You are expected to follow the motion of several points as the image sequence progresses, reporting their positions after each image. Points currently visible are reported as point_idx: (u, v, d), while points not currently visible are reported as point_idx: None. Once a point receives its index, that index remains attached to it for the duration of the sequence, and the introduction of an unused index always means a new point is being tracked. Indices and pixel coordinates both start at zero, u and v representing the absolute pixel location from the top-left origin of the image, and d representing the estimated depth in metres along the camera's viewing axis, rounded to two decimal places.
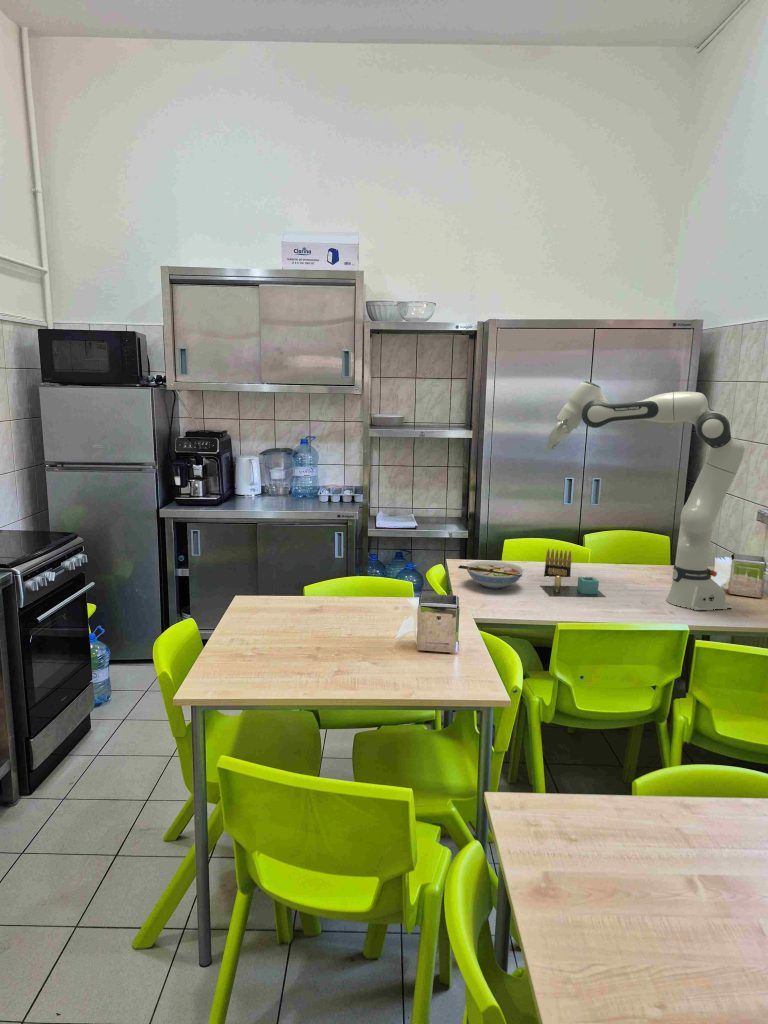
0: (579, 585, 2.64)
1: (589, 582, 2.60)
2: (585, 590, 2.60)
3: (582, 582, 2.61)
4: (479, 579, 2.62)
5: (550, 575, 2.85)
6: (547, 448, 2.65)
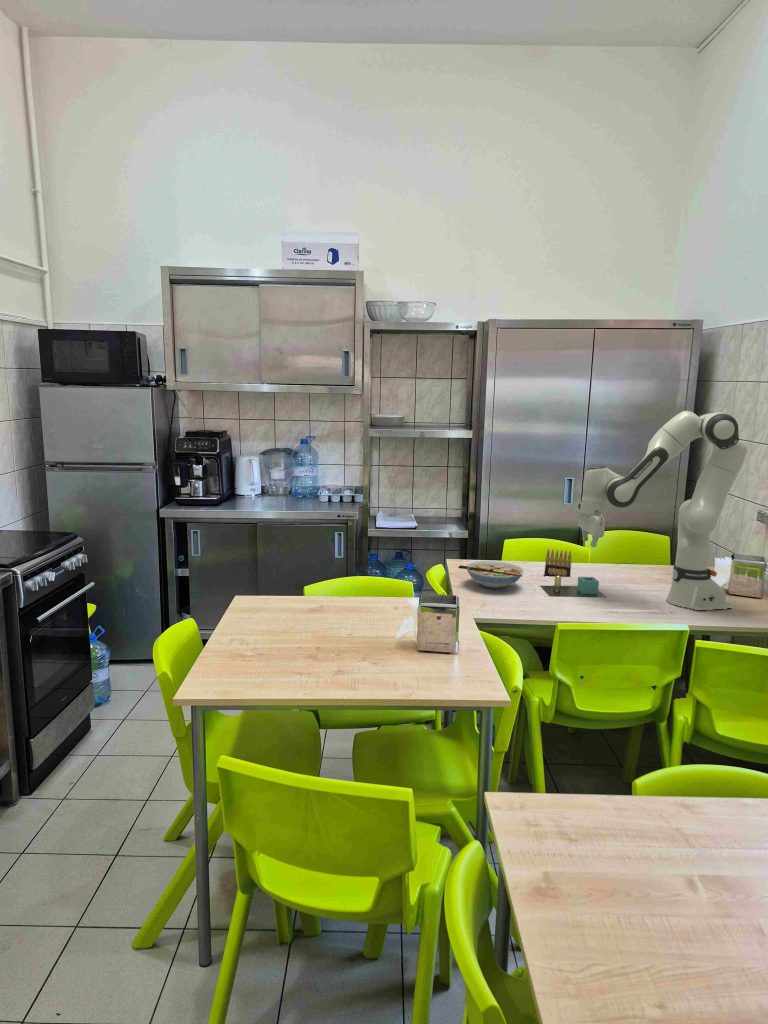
0: (579, 585, 2.64)
1: (589, 582, 2.60)
2: (585, 590, 2.60)
3: (582, 582, 2.61)
4: (479, 579, 2.62)
5: (550, 575, 2.85)
6: (594, 545, 2.55)
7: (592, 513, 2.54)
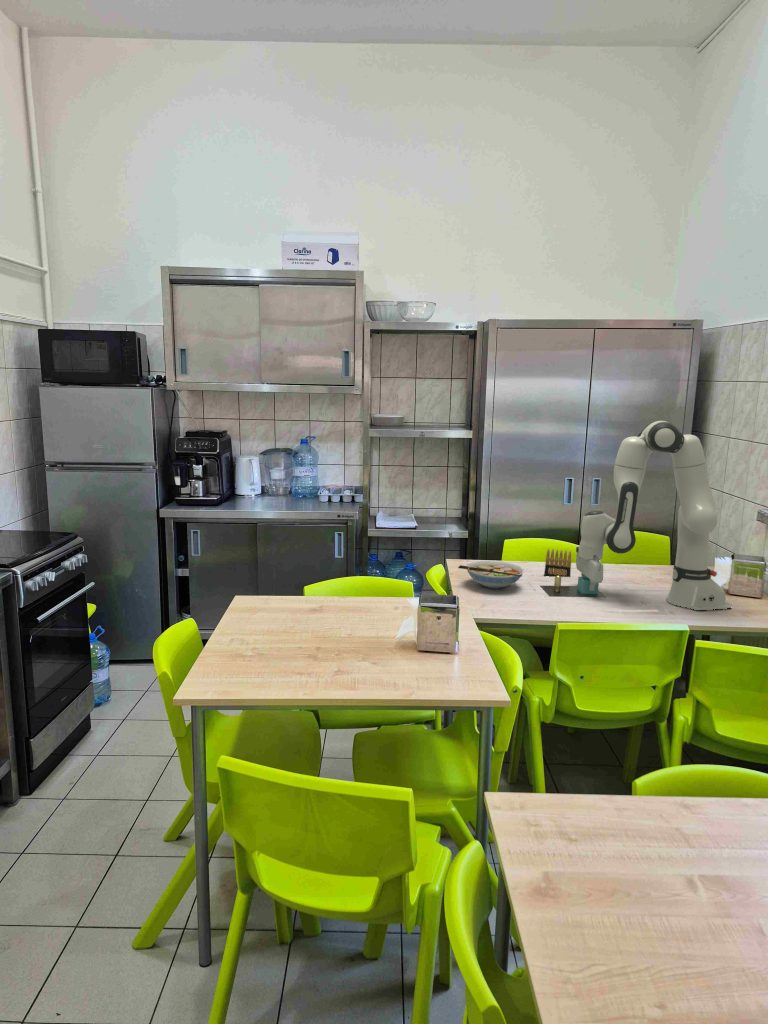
0: (579, 585, 2.64)
1: (589, 582, 2.60)
2: (585, 590, 2.60)
3: (582, 582, 2.61)
4: (479, 579, 2.62)
5: (550, 575, 2.85)
6: (592, 588, 2.59)
7: (590, 558, 2.57)
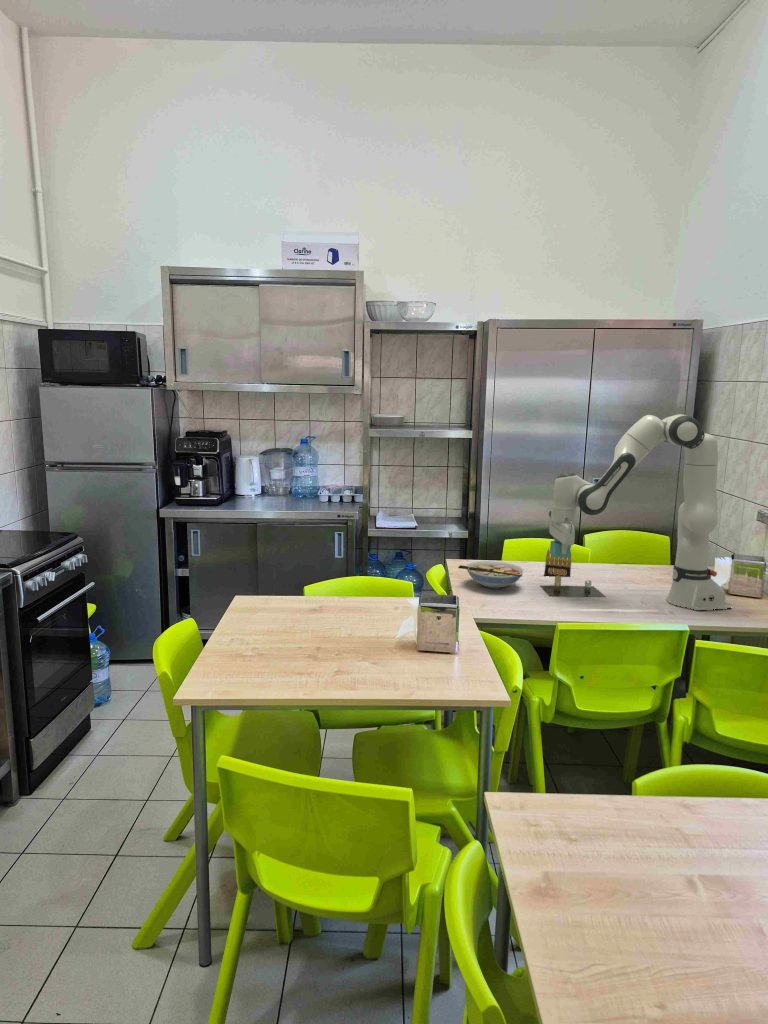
0: (551, 549, 2.61)
1: (561, 545, 2.56)
2: (556, 554, 2.57)
3: (554, 546, 2.57)
4: (479, 579, 2.62)
5: (550, 575, 2.85)
6: (563, 552, 2.55)
7: (562, 521, 2.53)
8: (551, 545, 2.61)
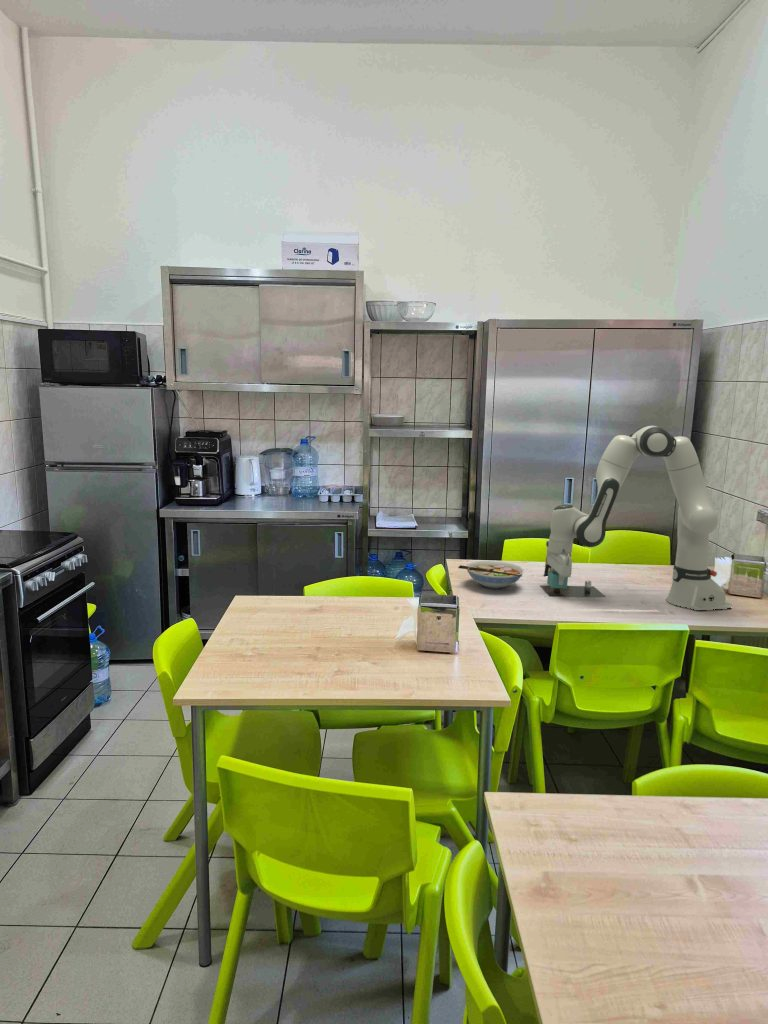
0: (549, 579, 2.63)
1: (558, 576, 2.59)
2: (554, 584, 2.59)
3: (551, 576, 2.60)
4: (479, 579, 2.62)
5: None
6: (561, 583, 2.58)
7: (559, 552, 2.56)
8: (548, 575, 2.63)
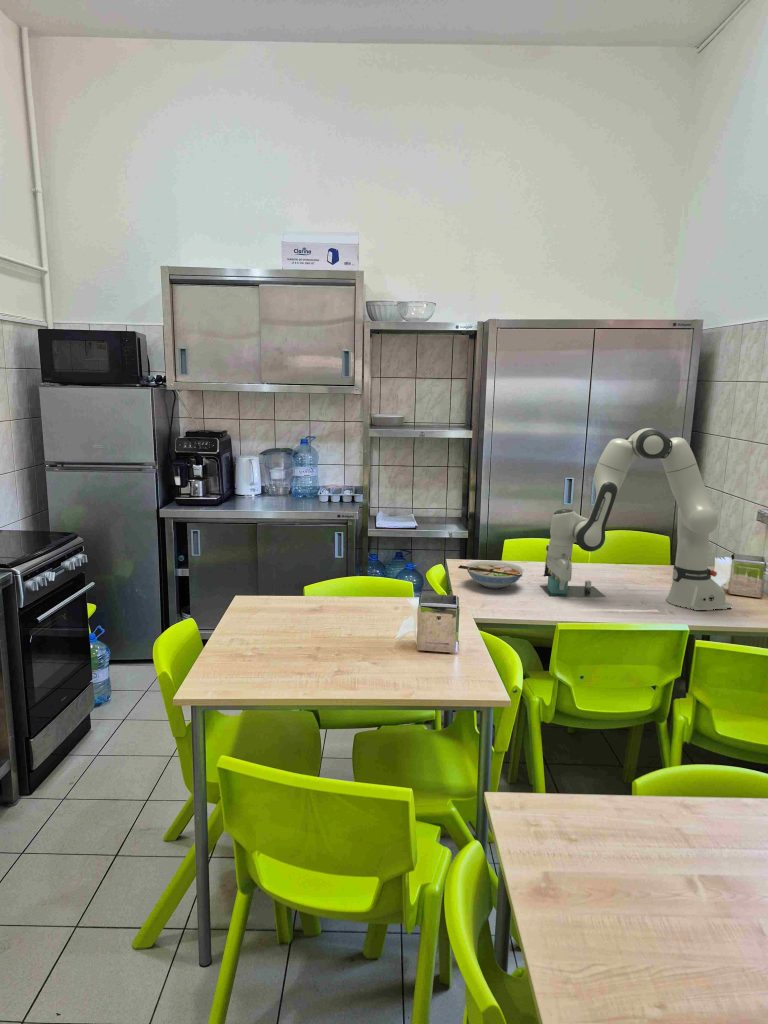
0: (549, 585, 2.63)
1: (558, 582, 2.59)
2: (554, 589, 2.60)
3: (551, 582, 2.60)
4: (479, 579, 2.62)
5: (550, 575, 2.85)
6: (561, 588, 2.57)
7: (559, 556, 2.56)
8: (548, 581, 2.64)
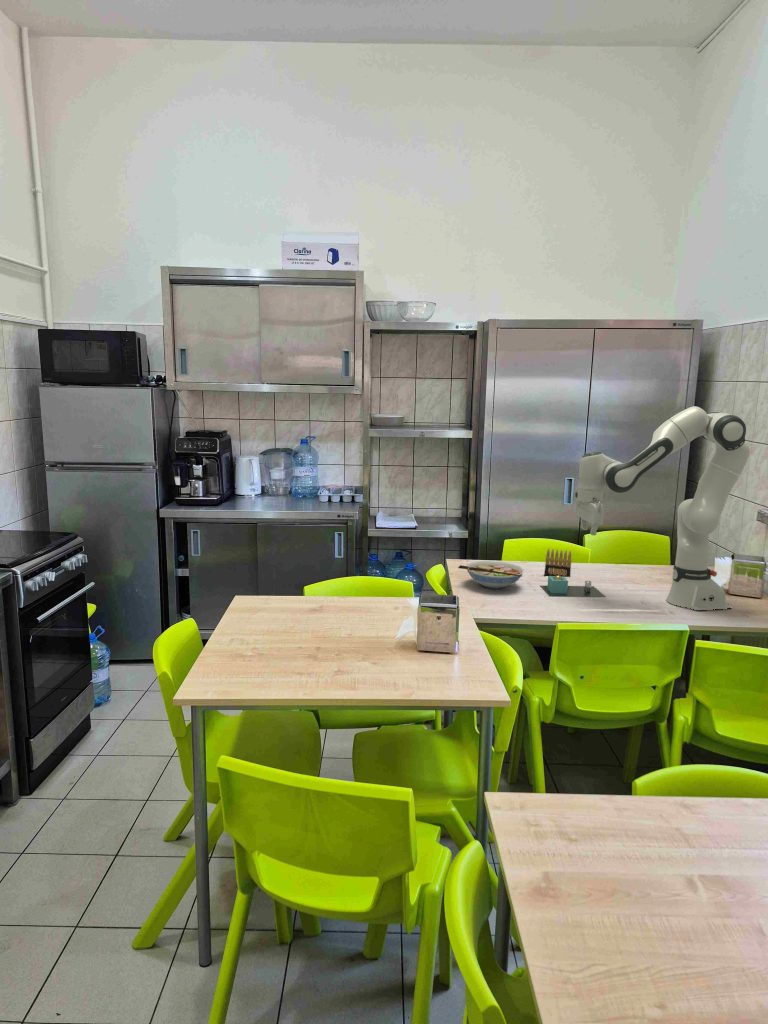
0: (549, 585, 2.63)
1: (558, 582, 2.59)
2: (554, 589, 2.60)
3: (551, 582, 2.60)
4: (479, 579, 2.62)
5: (550, 575, 2.85)
6: (593, 533, 2.49)
7: (590, 501, 2.48)
8: (548, 581, 2.64)
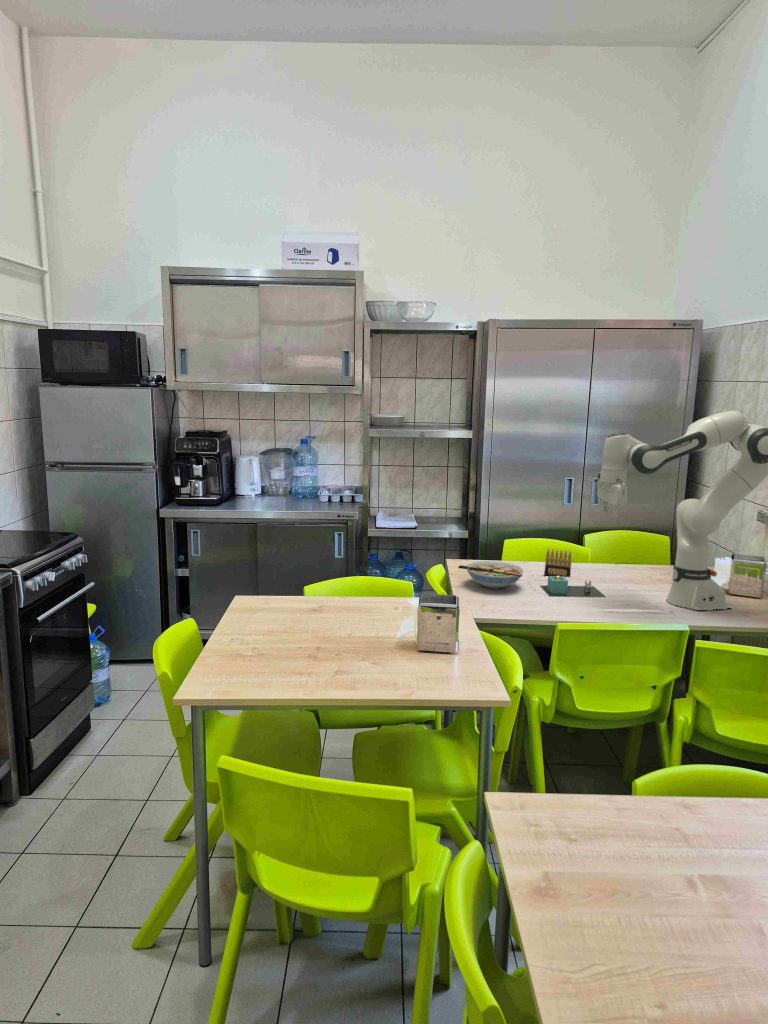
0: (549, 585, 2.63)
1: (558, 582, 2.59)
2: (554, 589, 2.60)
3: (551, 582, 2.60)
4: (479, 579, 2.62)
5: (550, 575, 2.85)
6: (615, 515, 2.45)
7: (613, 482, 2.44)
8: (548, 581, 2.64)
